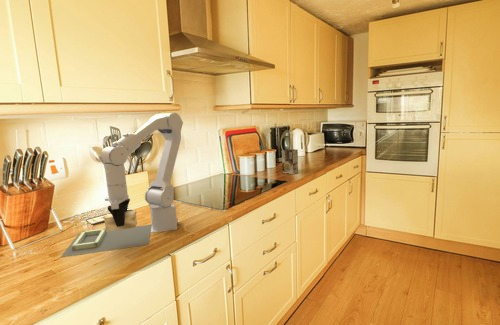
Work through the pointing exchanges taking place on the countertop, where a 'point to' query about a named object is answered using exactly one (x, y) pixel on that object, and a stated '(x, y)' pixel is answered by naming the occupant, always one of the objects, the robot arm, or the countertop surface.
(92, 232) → the sage frame
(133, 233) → the rubber mat
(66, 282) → the countertop surface
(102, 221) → the chocolate bar
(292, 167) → the coffee box
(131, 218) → the birch block
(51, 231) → the countertop surface
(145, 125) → the robot arm
